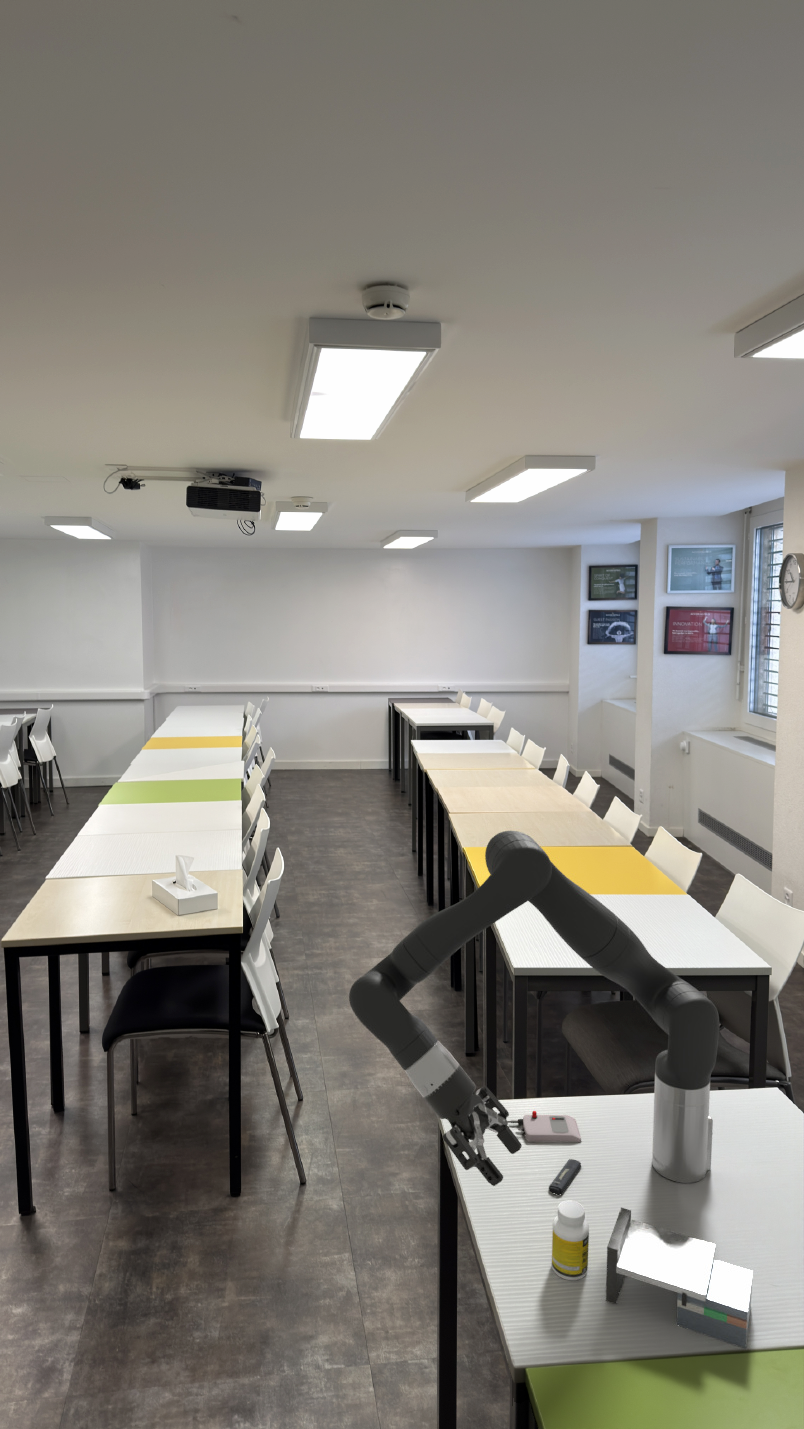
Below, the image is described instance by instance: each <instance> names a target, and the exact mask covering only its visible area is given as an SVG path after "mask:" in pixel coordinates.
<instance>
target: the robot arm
mask: <svg viewBox="0 0 804 1429" xmlns="http://www.w3.org/2000/svg"><path fill="white" fill-rule="evenodd" d="M484 857H485V858H484V859H485V865H486V868H487V871H488V873H489V876H488V877H487V878H486V880H485V881H484V882H483V883H482V884H481V885H480V886H479V887H478V888H476V890H474V891H473V892H472V893H471V894H470V895H468V896H467V897H465V898H464V899H462V900H460V901H459V902H457V903H455V904H453V905H451V906H449V907H447V908H444V909H442V910H440V911H438V912H436V913H435V914H432V915H431V916H429V917H428V918H426V919H425V920H424V921H423V922H421V923H419V924H418V925H417V926H416V927H415V928H414V929H413V930H412V931H411V932H410V933H409V934H407V935H406V936H405V937H404V938H403V939H402V940H400V942H399V943H398V944H396V946H395V947H394V948H393V950H392V951H391V953H389V954H388V955H387V956H385V957H384V958H383V959H382V960H381V961H379V962H378V963H377V964H376V965H375V966H373V967H372V968H371V969H369V970H368V971H367V972H366V973H365V974H363V975H362V976H360V977H359V978H358V979H356V980H355V982H353V984H352V985H351V987H350V990H349V995H348V1001H349V1005H350V1008H351V1010H352V1012H353V1014H354V1015H355V1017H357V1019H358V1021H360V1023H361V1024H362V1025H363V1026H364V1027H365V1028H366V1029H367V1030H368V1031H369V1032H370V1033H371V1034H372V1035H373V1036H374V1037H375V1038H376V1039H377V1040H379V1041H380V1042H381V1043H382V1044H383V1045H384V1046H385V1047H386V1048H387V1049H388V1051H389V1053H390V1054H391V1055H392V1057H394V1059H395V1061H397V1062H396V1063H398V1064H399V1066H401V1068H402V1069H403V1071H404V1072H405V1073H406V1075H407V1077H408V1078H409V1080H410V1082H411V1084H413V1086H414V1088H415V1089H416V1090H417V1091H418V1093H419V1094H420V1095H421V1096H422V1098H423V1099H424V1101H426V1103H427V1104H428V1105H429V1107H430V1108H431V1109H432V1111H433V1112H434V1113H435V1114H436V1116H437V1117H438V1118H439V1119H441V1120H447V1122H448V1123H449V1124H450V1126H451V1128H450V1129H449V1130H447V1131H446V1132H445V1133H443V1135H442V1139H443V1140H444V1142H445V1144H446V1145H447V1146H448V1148H449V1149H450V1151H451V1152H452V1153H453V1155H454V1156H455V1157H456V1160H458V1162H459V1163H460V1165H461V1166H462V1167H463V1169H464V1170H465V1171H468V1170H470V1169H472V1168H476V1169H478V1171H479V1172H480V1173H481V1175H482V1177H483V1178H484V1179H486V1181H487V1183H489V1184H490V1185H491V1186H493V1187H496V1186H497V1185H498V1184H500V1183H501V1182H502V1181H503V1179H504V1175H503V1173H502V1172H501V1171H500V1169H499V1168H498V1167H497V1166H496V1165H495V1164H494V1162H493V1161H492V1160H491V1158H490V1157H488V1156H487V1153H486V1150H485V1147H484V1143H485V1138H484V1134H485V1132H486V1130H489V1131H492V1132H494V1133H496V1138H498V1139H499V1140H500V1142H501V1143H502V1144H503V1145H504V1147H505V1148H506V1149H507V1151H508V1152H509V1153H510V1154H512V1155H514V1154H515V1153H517V1152H519V1151H521V1149H522V1143H521V1142H520V1140H519V1138H518V1137H517V1136H516V1135H515V1133H514V1132H513V1131H512V1130H511V1128H510V1127H509V1125H508V1124H509V1123H508V1122H507V1121H508V1120H507V1118H509V1115H510V1113H509V1111H508V1110H507V1108H506V1107H505V1106H504V1105H503V1104H502V1102H500V1100H499V1099H498V1098H497V1097H496V1096H495V1094H494V1093H493V1092H492V1091H491V1090H490V1089H489V1087H487V1085H482V1086H481V1087H480V1088H479V1089H477V1084H475V1082H474V1081H473V1079H472V1078H471V1077H470V1076H469V1075H468V1073H467V1072H466V1071H465V1069H463V1067H462V1066H461V1065H460V1063H459V1062H458V1061H457V1060H456V1059H455V1058H454V1056H453V1055H452V1053H451V1052H450V1051H449V1050H448V1049H447V1047H445V1046H444V1045H443V1044H442V1043H441V1041H439V1040H438V1038H437V1037H436V1036H435V1034H433V1032H432V1031H431V1030H430V1028H429V1027H428V1026H427V1024H426V1023H425V1022H424V1021H423V1020H422V1019H421V1018H420V1017H418V1016H417V1015H415V1014H412V1013H411V1012H410V1011H409V1010H408V1009H407V1008H406V1006H405V1005H404V1004H403V1002H402V1001H401V1000H402V999H403V998H404V997H405V996H407V994H408V993H409V992H410V991H411V990H412V989H413V988H414V987H415V986H416V985H417V984H418V983H420V982H423V981H424V980H425V979H427V978H428V977H429V976H430V975H431V974H432V973H434V972H435V971H436V970H437V969H438V968H440V967H441V965H443V963H445V962H446V961H447V960H448V959H449V958H451V956H453V955H454V954H455V953H456V952H457V951H459V949H461V948H462V947H463V946H465V945H466V944H467V943H468V942H469V941H471V940H472V939H473V938H476V936H477V935H479V934H481V933H482V932H483V931H485V930H486V929H487V928H490V926H492V925H493V924H495V923H496V922H498V921H500V919H501V920H502V918H504V917H505V916H506V915H508V914H510V913H511V912H513V911H514V910H516V909H517V908H519V907H521V906H523V905H524V904H525V903H527V902H528V903H530V904H531V905H533V907H535V909H537V911H539V913H540V914H541V915H542V916H543V917H544V919H545V920H546V921H547V922H548V924H549V925H550V926H551V927H552V929H553V930H554V931H555V932H556V933H557V934H558V936H559V937H560V938H561V939H562V940H563V941H564V943H566V945H567V946H568V947H570V949H571V950H572V951H573V952H574V953H575V954H576V955H577V956H578V957H580V958H581V959H582V960H584V962H586V963H587V965H589V966H590V967H591V968H593V969H594V970H595V971H596V972H598V974H600V975H601V976H603V977H605V978H607V979H608V980H610V981H612V982H613V983H616V984H617V985H619V986H620V987H621V988H624V989H625V990H626V991H627V992H628V993H629V994H630V995H631V996H632V997H633V998H634V999H635V1000H636V1001H637V1002H638V1003H639V1004H640V1005H641V1007H642V1008H643V1009H644V1010H645V1011H646V1012H647V1013H648V1015H649V1016H650V1017H651V1018H652V1020H653V1021H654V1023H655V1024H657V1026H658V1027H659V1028H660V1029H661V1030H663V1031H664V1033H666V1035H668V1038H667V1039H668V1042H667V1049H665V1050H662V1051H661V1052H659V1053H658V1054H657V1056H656V1057H655V1062H654V1063H655V1065H654V1066H655V1067H654V1071H655V1072H654V1098H653V1121H652V1122H653V1125H652V1126H653V1127H652V1152H651V1153H652V1155H651V1156H652V1159H651V1164H652V1167H653V1168H654V1170H655V1171H656V1172H657V1173H658V1174H659V1175H661V1177H664V1178H666V1179H668V1180H671V1181H673V1182H677V1183H684V1184H687V1183H689V1184H691V1183H696V1182H698V1181H701V1180H702V1179H704V1177H705V1176H706V1174H707V1171H709V1170H712V1149H713V1148H712V1146H713V1126H714V1123H713V1122H714V1120H713V1118H712V1117H711V1116H710V1115H709V1114H710V1099H711V1098H710V1096H711V1095H710V1093H711V1075H712V1072H713V1070H714V1069H715V1066H716V1063H717V1058H718V1057H717V1055H718V1046H719V1036H720V1016H719V1012H718V1008H717V1007H716V1005H715V1003H713V1001H712V1000H711V999H709V998H708V997H707V996H705V994H703V993H702V992H701V991H699V990H698V989H697V988H696V987H694V986H693V985H692V984H690V983H689V982H687V981H685V980H684V979H682V978H681V977H680V976H679V975H677V974H676V973H674V972H672V971H670V970H669V969H667V968H666V967H665V966H664V965H663V964H661V962H659V961H657V960H656V958H654V957H653V956H652V955H651V953H650V952H649V951H648V949H647V948H646V946H645V945H644V944H643V942H642V941H641V940H640V938H639V936H637V934H636V933H635V932H634V931H633V930H632V929H631V927H629V926H628V925H627V924H626V923H625V922H624V921H623V920H622V919H621V918H620V917H618V916H617V915H616V914H615V913H614V912H613V911H611V909H609V908H608V907H607V906H606V905H604V904H603V903H602V902H601V901H599V900H598V899H597V898H596V897H594V896H593V895H592V894H591V893H589V892H588V891H586V890H585V889H584V888H582V887H581V886H579V885H578V884H576V883H575V882H574V881H572V880H571V879H570V878H569V877H567V876H566V875H565V874H564V873H563V872H562V871H560V869H558V867H557V866H556V865H555V864H554V863H553V861H552V860H550V857H549V856H548V854H547V852H545V850H544V849H543V848H542V847H541V846H540V844H538V843H537V841H535V839H533V838H532V837H531V836H529V834H526V833H524V832H522V831H517V830H505V831H500V832H498V833H497V834H495V835H494V836H493V837H491V838H490V839H489V841H488V843H487V845H486V848H485V853H484ZM494 1108H495V1109H496V1110H497V1111H498V1112H497V1111H495V1110H494ZM475 1150H476V1151H477V1153H476V1151H475ZM464 1152H465V1154H466V1155H467V1157H468V1158H467V1157H466V1156H465V1154H464Z"/></svg>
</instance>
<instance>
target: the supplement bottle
mask: <svg viewBox="0 0 804 1429" xmlns="http://www.w3.org/2000/svg"><path fill="white" fill-rule="evenodd" d="M585 1210H586V1209H585V1207H584V1206H583V1205H582V1204H581V1203H580V1202H578V1201H576V1200H571V1199H570V1200H569V1199H567V1200H563V1201H561V1202H560V1203H559V1204H558V1206H557V1215H556V1216H555V1218H554V1219H553V1222H552V1231H551V1232H552V1236H551V1268H552V1271H553V1272H554V1273H555V1274H556V1275H557V1276H558V1277H560V1278H562V1279H564V1280H568V1281H579V1280H580V1279H583V1278H584V1277H585V1276H586V1275H587V1273H588V1269H589V1241H590V1240H589V1239H590V1229H589V1228H590V1227H589V1223H588V1222H587V1220H586V1216H585V1215H586V1211H585Z"/></svg>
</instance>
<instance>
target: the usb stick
mask: <svg viewBox="0 0 804 1429" xmlns="http://www.w3.org/2000/svg"><path fill="white" fill-rule="evenodd" d="M581 1168H582V1163H581V1161H579V1160H578V1159H573V1158H569V1159H568V1160H567V1162H566V1163H565V1164H564V1166H562V1168H561V1169H560V1171H559V1172H558V1174H557V1175H556V1177H555V1178H554V1179H553V1181H552V1182H551V1183H550V1184H549V1186H548V1191H549V1192H550V1193H551V1194H553V1193H555V1194H557V1195H556V1196H558V1195H559V1196H562V1195H563V1194H564V1192H565V1191H566V1190H567V1188H568V1187H569V1185H570V1184H571V1183H572V1181H573V1180H574V1178H575V1177H576V1175H577V1174H578V1173H579V1171H580V1169H581ZM567 1186H568V1187H567ZM562 1193H563V1194H562ZM555 1194H554V1195H555ZM560 1194H561V1195H560Z"/></svg>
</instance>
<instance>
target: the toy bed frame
mask: <svg viewBox="0 0 804 1429" xmlns="http://www.w3.org/2000/svg"><path fill="white" fill-rule="evenodd" d="M715 1253H716V1244H715V1243H712V1242H708V1241H705V1240H702V1239H698V1238H695V1237H691V1236H688V1235H686V1234H682V1233H677V1232H675V1231H671V1230H668V1229H665V1228H661V1227H657V1226H655V1225H651V1224H648V1223H644V1222H642V1221H638V1220H635V1219H632V1209H628V1208H625V1207H620V1210H619V1212H618V1215H617V1218H616V1221H615V1224H614V1227H613V1229H612V1233H611V1236H610V1237H609V1241H608V1244H607V1246H606V1284H605V1301H606V1302H609V1303H612V1304H615V1305H617V1304H618V1302H619V1301H618V1300H619V1298H620V1294H621V1291H622V1287H623V1284H624V1281H625V1278H626V1277H629V1278H632V1279H635V1280H638V1281H641V1282H644V1283H647V1284H650V1285H654V1286H656V1287H659V1288H662V1289H664V1290H665V1289H666V1290H669V1291H672V1292H675V1293H677V1294H678V1293H681V1294H682V1305H683V1306H686V1305H687V1296H690V1297H693V1298H696V1299H699V1300H702V1301H706V1296H707V1290H708V1285H709V1280H710V1274H711V1269H712V1264H713V1259H714V1257H715Z"/></svg>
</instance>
